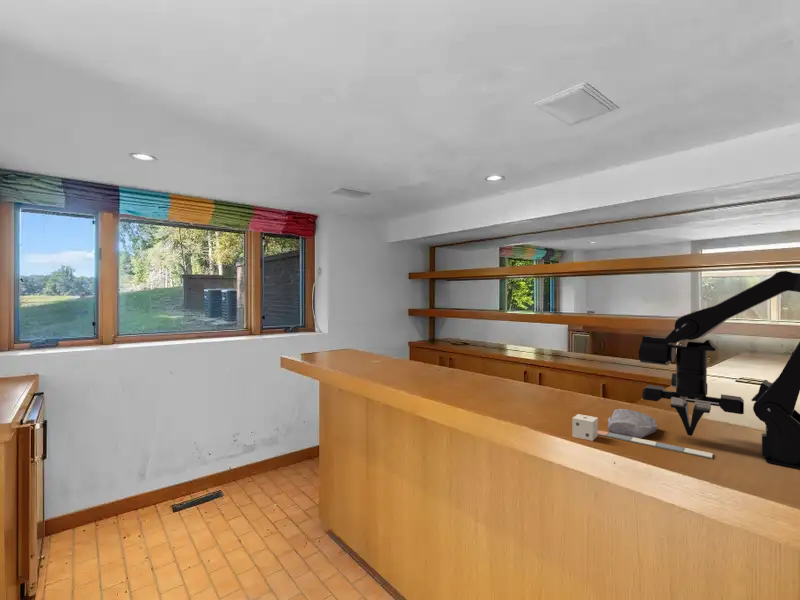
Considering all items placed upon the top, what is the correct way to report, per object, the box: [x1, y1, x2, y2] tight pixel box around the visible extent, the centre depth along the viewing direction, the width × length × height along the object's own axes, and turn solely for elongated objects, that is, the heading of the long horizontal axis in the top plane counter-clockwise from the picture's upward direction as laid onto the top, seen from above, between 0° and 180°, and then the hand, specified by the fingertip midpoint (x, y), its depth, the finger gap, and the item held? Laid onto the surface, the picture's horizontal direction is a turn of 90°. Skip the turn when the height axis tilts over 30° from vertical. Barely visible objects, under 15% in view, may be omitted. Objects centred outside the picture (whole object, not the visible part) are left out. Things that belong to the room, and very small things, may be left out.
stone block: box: [607, 408, 658, 439], centre depth 100 cm, size 12×5×10 cm
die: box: [571, 413, 599, 442], centre depth 95 cm, size 4×4×4 cm
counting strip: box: [598, 429, 714, 460], centre depth 91 cm, size 25×3×1 cm, turn 50°
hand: (690, 435), depth 93 cm, fingers closed
